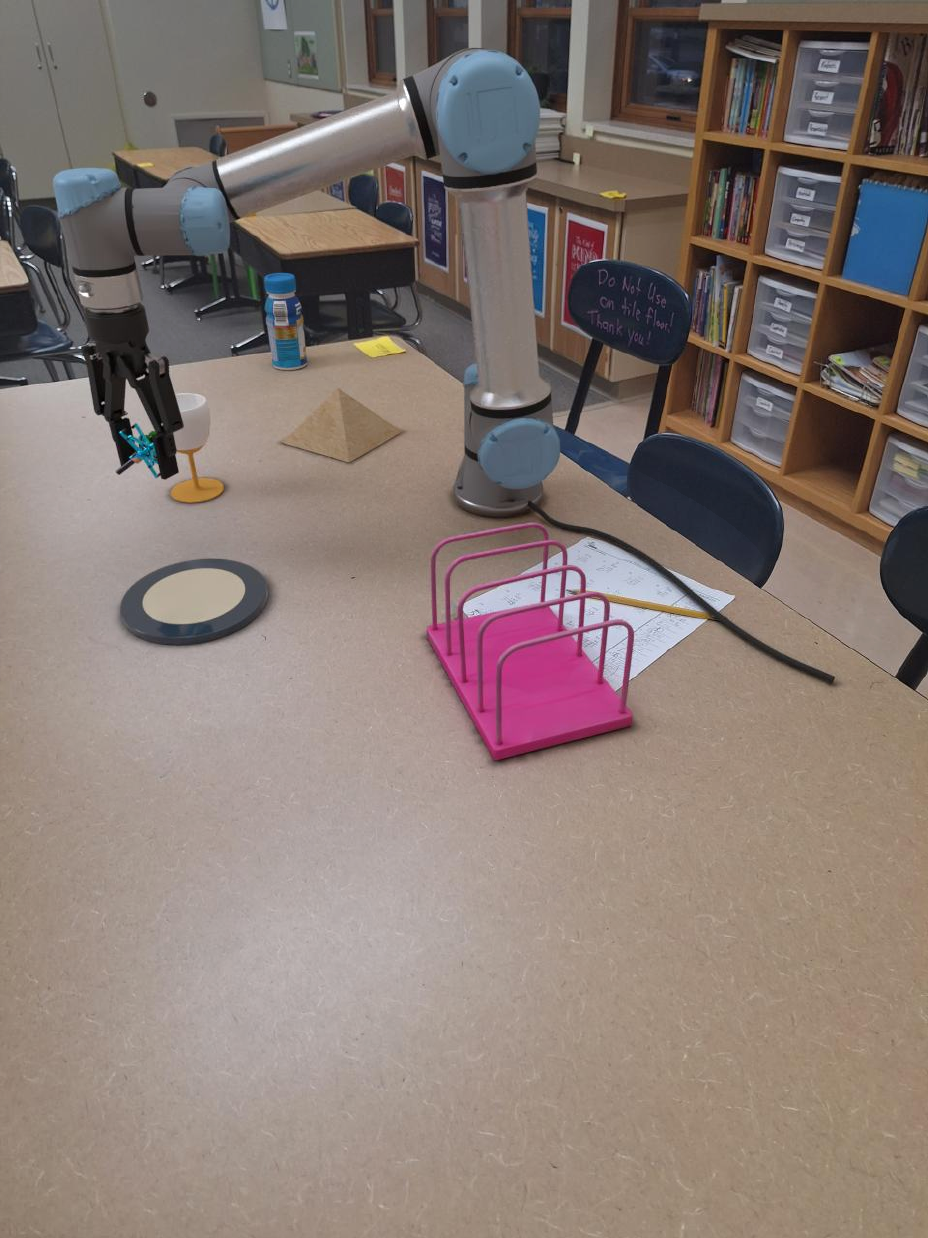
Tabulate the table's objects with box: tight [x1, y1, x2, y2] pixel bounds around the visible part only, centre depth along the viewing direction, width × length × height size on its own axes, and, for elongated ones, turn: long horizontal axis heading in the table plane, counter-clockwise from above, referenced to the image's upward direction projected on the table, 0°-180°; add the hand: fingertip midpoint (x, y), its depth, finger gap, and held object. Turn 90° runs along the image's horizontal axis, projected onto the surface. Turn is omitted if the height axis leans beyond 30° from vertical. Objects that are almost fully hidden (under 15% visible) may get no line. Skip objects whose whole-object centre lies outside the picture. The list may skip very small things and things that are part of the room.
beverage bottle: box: [263, 272, 308, 371], centre depth 196 cm, size 8×8×20 cm
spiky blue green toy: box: [115, 422, 161, 479], centre depth 123 cm, size 12×7×8 cm
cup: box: [161, 392, 225, 504], centre depth 145 cm, size 9×9×16 cm
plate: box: [119, 557, 269, 646], centre depth 121 cm, size 20×20×1 cm
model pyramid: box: [281, 387, 403, 463], centre depth 165 cm, size 17×17×10 cm
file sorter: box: [426, 522, 635, 761], centre depth 103 cm, size 17×25×16 cm
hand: (149, 469), depth 123 cm, fingers closed on spiky blue green toy, 7 cm apart
